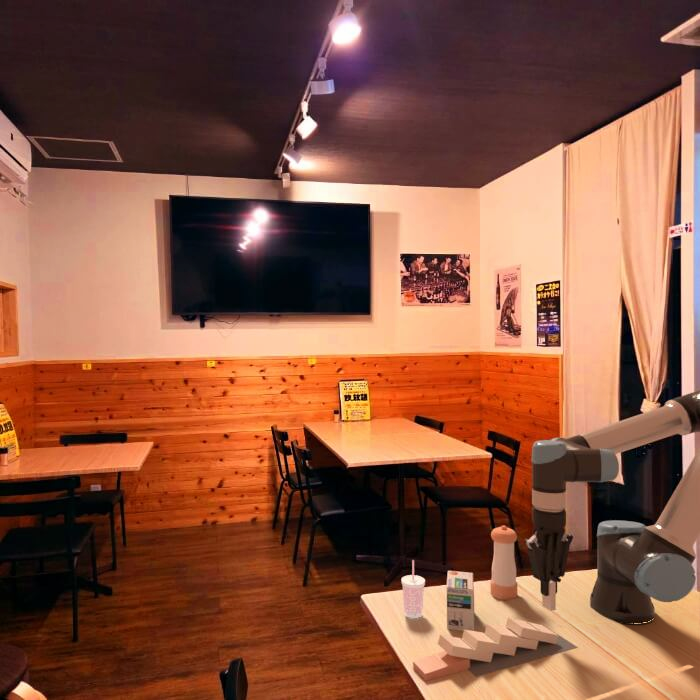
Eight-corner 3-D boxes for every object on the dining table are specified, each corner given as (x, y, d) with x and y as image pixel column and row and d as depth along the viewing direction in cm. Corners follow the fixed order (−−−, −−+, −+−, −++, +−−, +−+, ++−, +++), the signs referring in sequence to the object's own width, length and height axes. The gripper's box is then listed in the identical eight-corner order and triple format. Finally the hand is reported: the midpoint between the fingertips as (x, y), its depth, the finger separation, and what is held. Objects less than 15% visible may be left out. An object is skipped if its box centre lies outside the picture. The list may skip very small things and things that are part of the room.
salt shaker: (519, 591, 156) (519, 523, 156) (515, 602, 150) (515, 531, 149) (493, 586, 159) (493, 520, 159) (488, 597, 153) (488, 528, 152)
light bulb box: (474, 634, 133) (474, 589, 133) (446, 631, 134) (446, 587, 134) (473, 613, 144) (473, 571, 144) (447, 610, 145) (447, 569, 145)
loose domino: (502, 635, 128) (464, 629, 123) (516, 646, 123) (478, 640, 119) (499, 644, 127) (461, 638, 123) (514, 656, 123) (475, 650, 118)
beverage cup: (398, 617, 141) (398, 563, 141) (405, 607, 147) (405, 554, 147) (421, 622, 139) (421, 566, 139) (427, 611, 144) (427, 558, 144)
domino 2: (479, 641, 125) (440, 634, 121) (493, 652, 120) (453, 645, 116) (476, 651, 125) (437, 643, 121) (490, 662, 120) (450, 655, 116)
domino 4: (542, 625, 132) (508, 617, 128) (558, 635, 128) (523, 627, 124) (540, 634, 132) (505, 626, 128) (555, 644, 127) (520, 636, 123)
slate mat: (543, 627, 136) (543, 625, 136) (577, 649, 126) (577, 647, 126) (446, 652, 125) (446, 649, 125) (476, 679, 115) (476, 676, 115)
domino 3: (523, 630, 130) (487, 623, 126) (538, 640, 125) (501, 634, 121) (521, 639, 130) (484, 633, 126) (536, 649, 125) (498, 644, 121)
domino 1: (456, 646, 122) (412, 661, 118) (469, 658, 118) (425, 673, 114) (456, 656, 123) (413, 670, 118) (470, 668, 118) (425, 683, 114)
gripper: (558, 500, 136) (558, 596, 136) (515, 506, 130) (516, 606, 131) (582, 508, 129) (582, 609, 129) (538, 515, 124) (538, 620, 124)
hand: (548, 607), depth 130 cm, fingers closed
